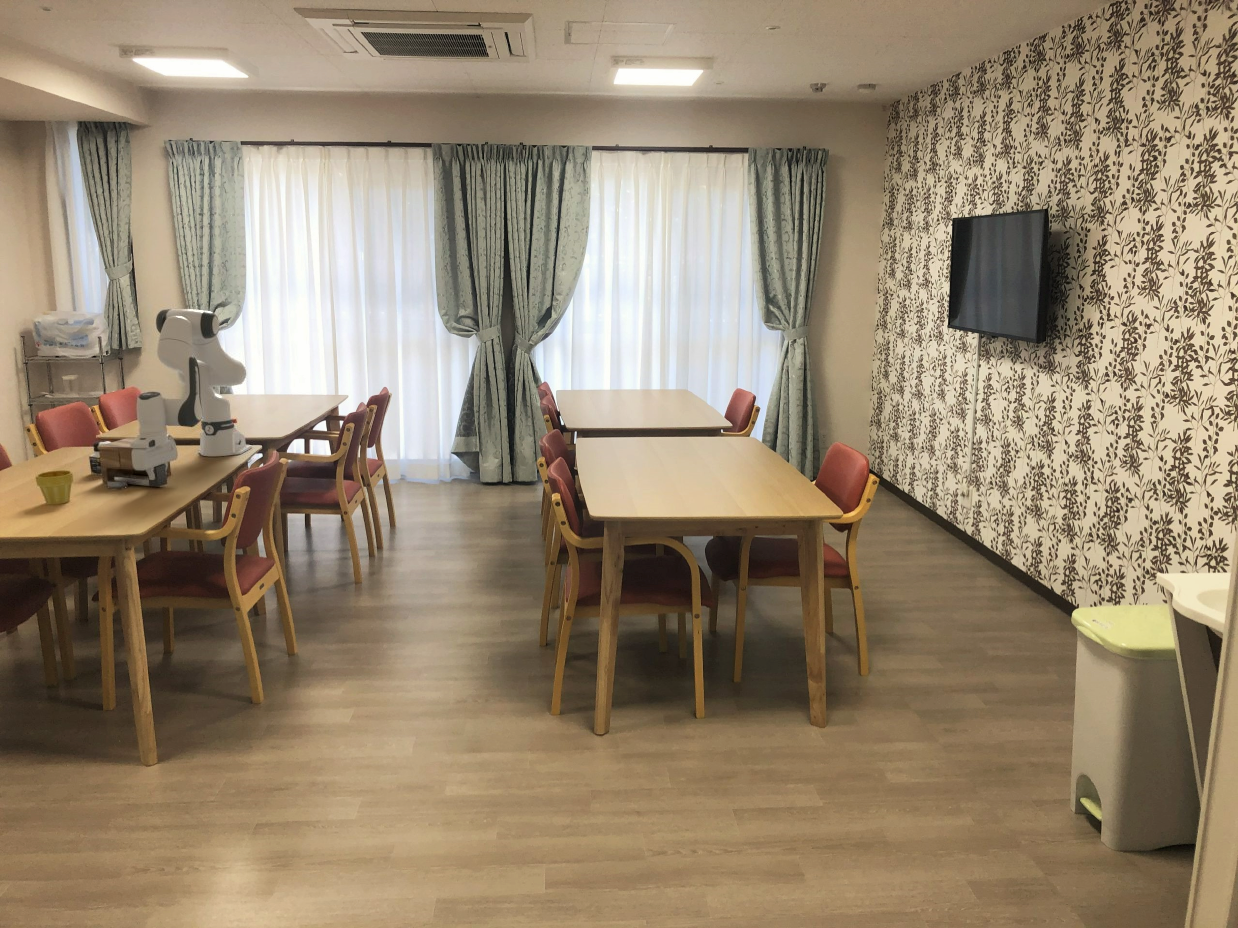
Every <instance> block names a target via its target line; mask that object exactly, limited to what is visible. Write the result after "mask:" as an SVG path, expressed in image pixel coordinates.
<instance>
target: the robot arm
mask: <svg viewBox="0 0 1238 928" xmlns="http://www.w3.org/2000/svg"><path fill="white" fill-rule="evenodd" d="M219 321H220V320H219V317H218V316H217V314H216V313H215V312H213V311H210V310H202V309H201V310H200V309H195V308H194V309H192V308H191V309H190V308H182V309H181V308H176V309H175V308H174V309H171V308H169V309H168V308H167V309H163V310H160V311H159V312H158V313H157V314H156V318H155V325H156V330H157V332H158V333H159V337H158V343H157V349H156V352H157V353H156V355H157V358H158V359H159V362H161V363H162V365H164V366H166V367H167V368H169V369H170V370H172V371H175V372H177V375H178V379H179V380H180V382H181V383H182V384H183V385H184V388H185V390H184V391H185V396H184V397H182V398H165V397H163V395H162V394H161V393H160V392H158V391H147V392H143V393H140V394H139V395H138V396H137V400H136V418H137V421H138V424H139V426H138V428H139V429H138V435H137V436H135V437H134V438H135V439H134V440H133V441H132V442H131V443H130V447H131V448H134V449H133V450H132V463H133V468H134V469H135V470H146V472H147V473H148V475H149V479H150V480H154V479H156V474H154V472H153V470H154V467H155V466H158V465H161V464H162V465H165V469H166V470H167V467H168V462H170V463H171V462H173V461H176V460H178V458H179V454H178V447H177V444H176V441H175V440H174V437H173V436H172V435H171V434H168V426H169V427H186V428H193V427H196V426H197V425H199V423H201V424H200V426H201V430H202V431H201V433H200V435H199V438H200V439H199V443H200V444H199V445H200V447H199V450H198V454H200V455H201V456H205V457H223V456H224V457H226V456H233V455H242V454H244V453H245V452H246V451H248V450H250V449H252V448H253V446H252V445H250V444H247V443H246V438H245V437H246V436H245V435H244V434H243V433H242V432H241V431H239V429H237V428H236V427H235V424H237V423H238V419H237V418H232V412H231V403H230V400H228V398H227V397H225V396H224V395H221V394H219V393H218V392H216V391H215V389H214V387H215V388H216V387H218V388H219V387H223V388H224V387H234V386H239V385H242V384H243V383H244V381H245V379H246V377H247V369H246V367H245V365H244V364H243V363H242V362H241V361H239V360H237V359H235V358H233V357H231V356H230V355H229V354H228V353H226V352H225V350H224V349H223V347H222V346H221V343H220V340H219V338H218V333H219V330H220V322H219ZM148 475H147V476H148ZM166 475H167V473H166Z"/></svg>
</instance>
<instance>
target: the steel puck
mask: <svg viewBox="0 0 1238 928" xmlns="http://www.w3.org/2000/svg"><path fill="white" fill-rule="evenodd" d="M106 484H107V489H108V490H110V489H118V490H122V489H121V488H124V489H126V488H125V487H127V488H128V484H127V480H124V479H119V480H111V481H108V482H107V483H106Z"/></svg>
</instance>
